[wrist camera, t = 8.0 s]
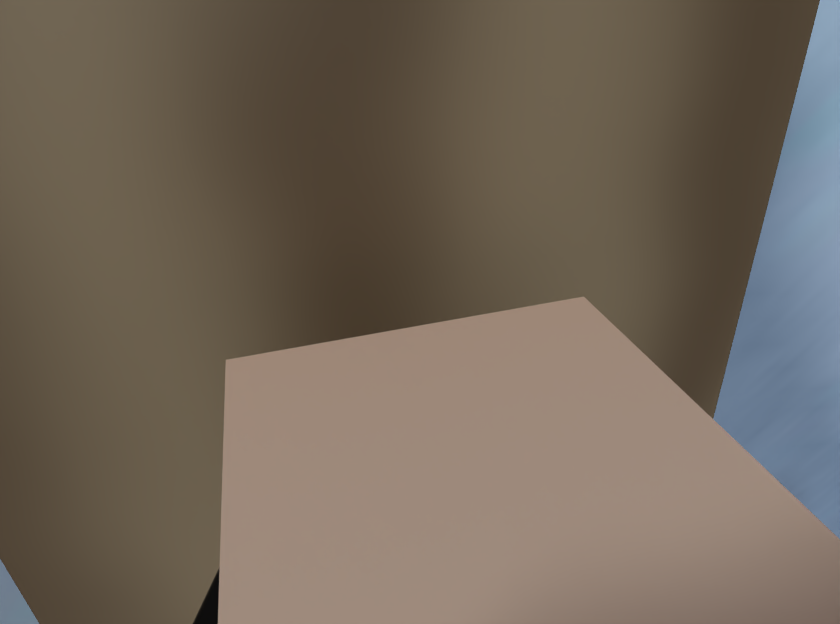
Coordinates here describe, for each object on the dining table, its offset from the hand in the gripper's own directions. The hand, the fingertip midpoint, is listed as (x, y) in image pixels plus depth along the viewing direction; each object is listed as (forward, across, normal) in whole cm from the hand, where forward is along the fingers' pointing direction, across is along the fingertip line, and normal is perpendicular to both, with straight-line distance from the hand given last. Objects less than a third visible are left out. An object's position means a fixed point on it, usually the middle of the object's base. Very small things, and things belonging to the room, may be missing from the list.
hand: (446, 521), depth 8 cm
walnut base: (+6, 0, 0) cm, 6 cm away
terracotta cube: (+1, 0, 0) cm, 1 cm away
